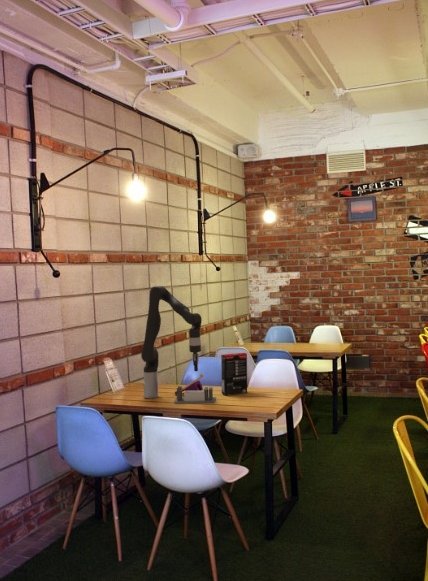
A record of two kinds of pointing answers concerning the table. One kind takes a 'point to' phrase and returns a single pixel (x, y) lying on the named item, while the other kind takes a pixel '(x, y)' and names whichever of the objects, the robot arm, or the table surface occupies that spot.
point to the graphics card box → (234, 373)
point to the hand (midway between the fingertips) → (196, 371)
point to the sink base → (195, 396)
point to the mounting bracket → (193, 387)
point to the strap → (192, 382)
